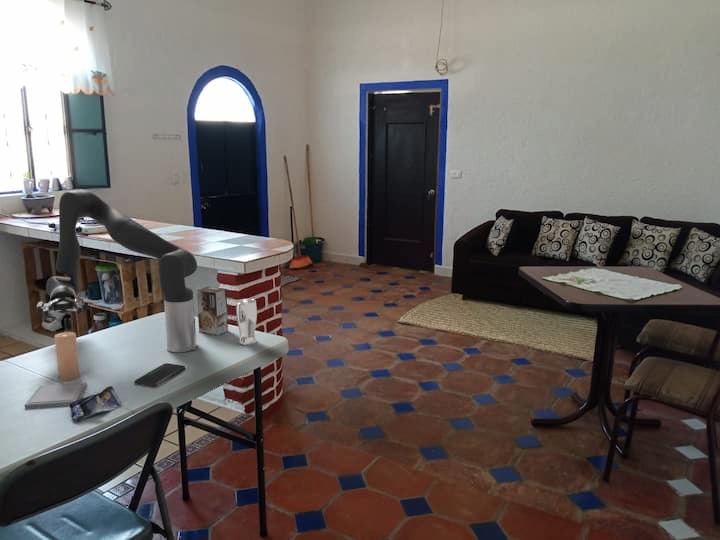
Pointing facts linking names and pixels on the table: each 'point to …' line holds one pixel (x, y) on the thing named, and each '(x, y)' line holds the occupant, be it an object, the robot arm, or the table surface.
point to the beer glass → (246, 320)
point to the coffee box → (212, 310)
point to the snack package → (94, 404)
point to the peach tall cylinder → (67, 356)
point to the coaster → (56, 395)
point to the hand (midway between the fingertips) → (63, 312)
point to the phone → (159, 375)
